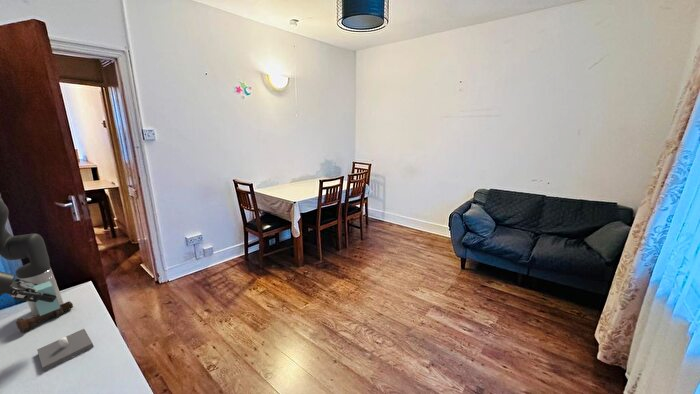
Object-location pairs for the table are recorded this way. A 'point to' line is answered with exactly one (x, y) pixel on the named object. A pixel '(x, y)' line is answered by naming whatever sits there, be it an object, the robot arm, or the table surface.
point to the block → (43, 305)
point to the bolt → (41, 317)
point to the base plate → (64, 349)
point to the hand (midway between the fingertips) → (52, 296)
